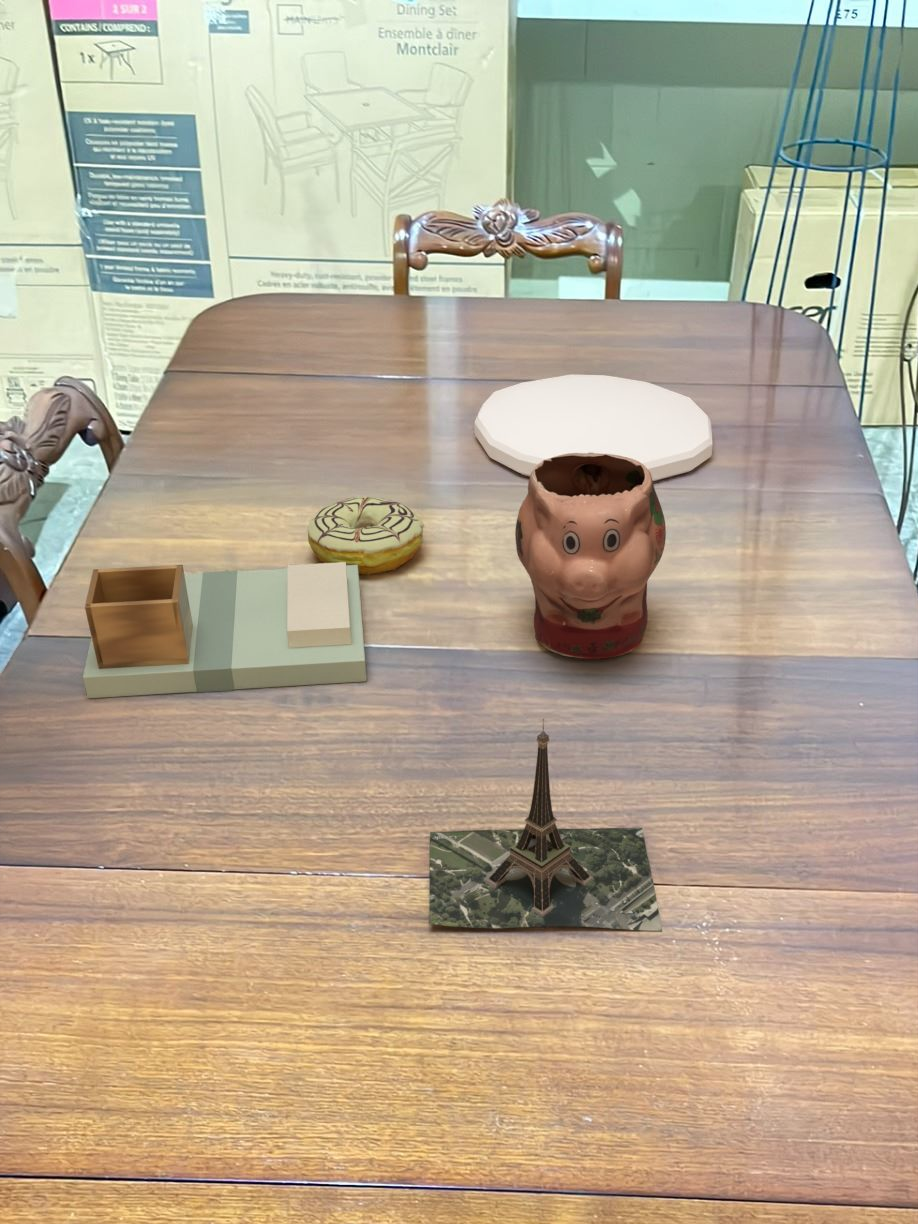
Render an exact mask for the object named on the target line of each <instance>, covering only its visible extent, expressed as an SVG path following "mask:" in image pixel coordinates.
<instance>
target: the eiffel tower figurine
mask: <svg viewBox="0 0 918 1224" xmlns="http://www.w3.org/2000/svg"><path fill="white" fill-rule="evenodd" d="M536 737H537V738H536V742H537V755H536V764H535V774H534V783H533V790H532V797H531V804H530V809H529V813H528V816H527V817H526V818H524V822H525V826H524V828H518V829H517V828H515V829H514V828H513V829H512V828H511V829H507V828H506V829H471V830H470V829H469V830H450V831H447V830H446V831H445V830H444V831H430V832H429V885H428V886H429V889H428V890H429V919H428V920H429V921H428V924H429V925H433V926H445V927H459V928H474V929H508V928H509V929H512V928H535V927H536V928H541V929H543V930H544V929H545V928H547V927H580V928H582V927H583V928H601V929H602V928H603V929H616V930H632V931H647V932H648V931H649V932H650V931H651V932H663V929H662V928H663V927H662V923H661V917H660V912H659V906H658V901H657V894H656V890H655V885H654V880H653V875H652V870H651V865H650V861H649V857H648V852H647V845H646V840H645V835H644V829H643V827H604V828H603V827H601V828H600V827H599V828H558V827H557V824H556V822H557V821H558V819H557V818H556V817H555V815H554V812H553V806H552V805H553V804H552V799H551V785H550V771H549V755H548V754H549V753H548V744H549V742H550V735H549V734H547V733H546V731H545V718H542V731H541V732H540V733H539V734H538V735H537V736H536Z"/></svg>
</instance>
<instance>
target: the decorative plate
mask: <svg viewBox="0 0 918 1224" xmlns="http://www.w3.org/2000/svg"><path fill="white" fill-rule="evenodd" d="M712 432H713V431H712V421H711V419H710V417H709V416H708V415H707V414H706V413H705V412H704V410H702V409H701V408H700V407H699V406H698V405H697V403H696V402H695V401H693V400H692V398H690V397H689V396H688V395H687V396H686V395H683V394H681V393H678V392H676V391H673V390H670V389H667V388H665V387H662V386H659V385H657V384H653V383H651V382H648V381H643V380H636V379H632V378H631V379H629V378H624V377H619V376H611V375H606V374H605V375H602V374H573V373H571V374H565V375H559V376H554V377H547V378H541V379H536V380H530V381H524V382H519V383H517V384H514V385H510V386H507V387H504V388H501V389H498V390H495V391H493V392H492V393H491V395H490V396H489V397H488V398H487V399H486V400H485V401H484V402H483V404H482V405H481V407H480V408H479V411H478V413H477V415H476V418H475V420H474V436H475V438H476V439H477V440H478V442H479V443H480V445H481V447H482V448H483V450H484V451H485V453H486V454H487V455H488V457H489V458H490V459H492V460H494V461H495V462H498V463H499V464H501V465H503V466H505V467H507V468H508V469H511V470H512V471H515V472H517V473H519V474H520V475H522V476H525V477H529V478H530V475H531V472H532V471H533V469H534V468H535V466H537V465H538V464H539V463H540V462H542V461H543V460H545V459H549V458H553V457H556V456H559V455H563V454H568V453H600V454H612V455H619V456H623V457H627V458H631V459H634V460H636V461H639V462H640V463H642V464H643V465H644V466H645V467H646V468H647V469H648V470H649V472H650V474H651V477H652V480H653V482H656V481H659V480H663V479H667V478H672V477H675V476H679V475H681V474H686V473H689V472H691V471H693V470H694V469H695V468H697V467H698V466H700V465H701V464H703V463H704V462H706V461H707V460H708V459H710V458H711V457H712V453H713V446H714V445H713V433H712Z"/></svg>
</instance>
